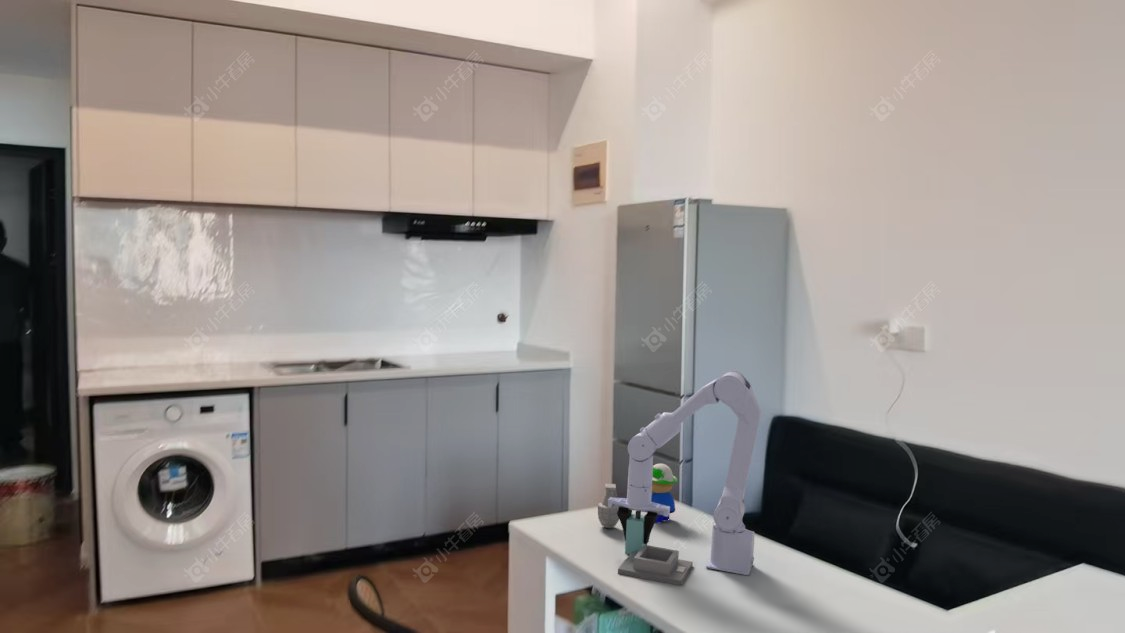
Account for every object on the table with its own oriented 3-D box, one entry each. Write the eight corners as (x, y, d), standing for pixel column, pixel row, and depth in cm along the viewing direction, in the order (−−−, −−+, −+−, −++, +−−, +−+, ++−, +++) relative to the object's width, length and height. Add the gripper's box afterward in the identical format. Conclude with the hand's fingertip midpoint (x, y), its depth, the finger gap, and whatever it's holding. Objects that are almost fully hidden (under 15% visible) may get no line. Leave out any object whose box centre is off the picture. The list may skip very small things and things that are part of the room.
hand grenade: (620, 532, 196) (622, 489, 195) (597, 530, 196) (599, 488, 195) (618, 523, 202) (621, 482, 201) (596, 522, 202) (598, 480, 201)
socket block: (692, 566, 175) (693, 551, 175) (681, 585, 164) (682, 569, 164) (632, 555, 180) (633, 540, 180) (617, 573, 169) (618, 557, 169)
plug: (647, 549, 184) (649, 510, 184) (641, 556, 180) (643, 515, 179) (630, 546, 186) (633, 507, 185) (624, 553, 181) (627, 513, 181)
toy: (657, 511, 214) (660, 458, 213) (682, 520, 207) (685, 465, 206) (634, 517, 208) (637, 462, 207) (659, 526, 201) (663, 470, 200)
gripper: (674, 484, 183) (670, 540, 184) (615, 476, 188) (612, 530, 189) (667, 492, 176) (663, 550, 177) (606, 483, 182) (603, 539, 182)
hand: (636, 541), depth 183 cm, fingers closed on plug, 4 cm apart
